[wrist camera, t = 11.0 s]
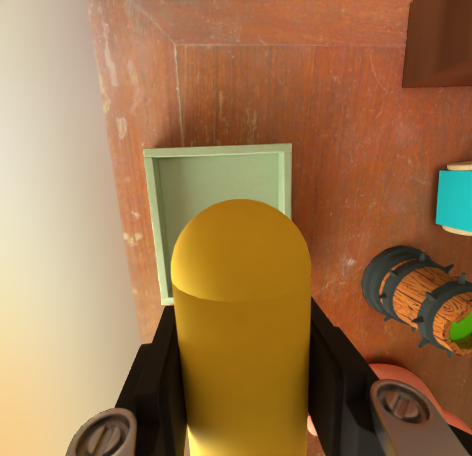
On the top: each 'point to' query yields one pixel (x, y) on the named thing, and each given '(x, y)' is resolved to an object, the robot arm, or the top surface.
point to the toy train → (455, 198)
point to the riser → (439, 44)
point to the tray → (209, 188)
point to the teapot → (410, 378)
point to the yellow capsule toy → (243, 330)
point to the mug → (422, 297)
